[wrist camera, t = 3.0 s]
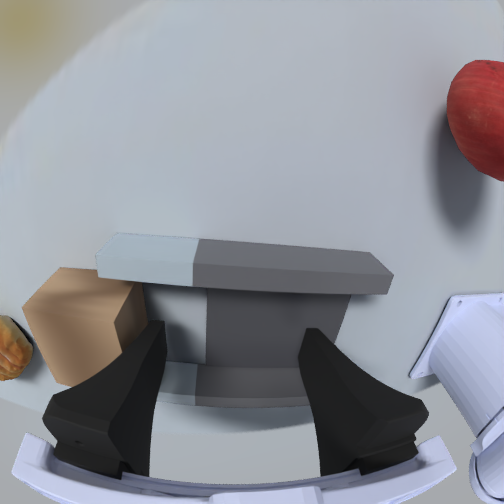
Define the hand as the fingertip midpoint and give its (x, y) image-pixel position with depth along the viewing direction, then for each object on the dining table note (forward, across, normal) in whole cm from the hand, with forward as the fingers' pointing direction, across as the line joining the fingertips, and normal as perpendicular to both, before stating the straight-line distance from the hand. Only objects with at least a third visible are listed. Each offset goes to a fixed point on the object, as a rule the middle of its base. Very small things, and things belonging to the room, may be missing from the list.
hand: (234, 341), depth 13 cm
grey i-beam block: (+2, -1, 0) cm, 2 cm away
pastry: (+2, +20, +5) cm, 21 cm away
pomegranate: (+2, -11, -13) cm, 17 cm away
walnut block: (+2, +7, 0) cm, 7 cm away
